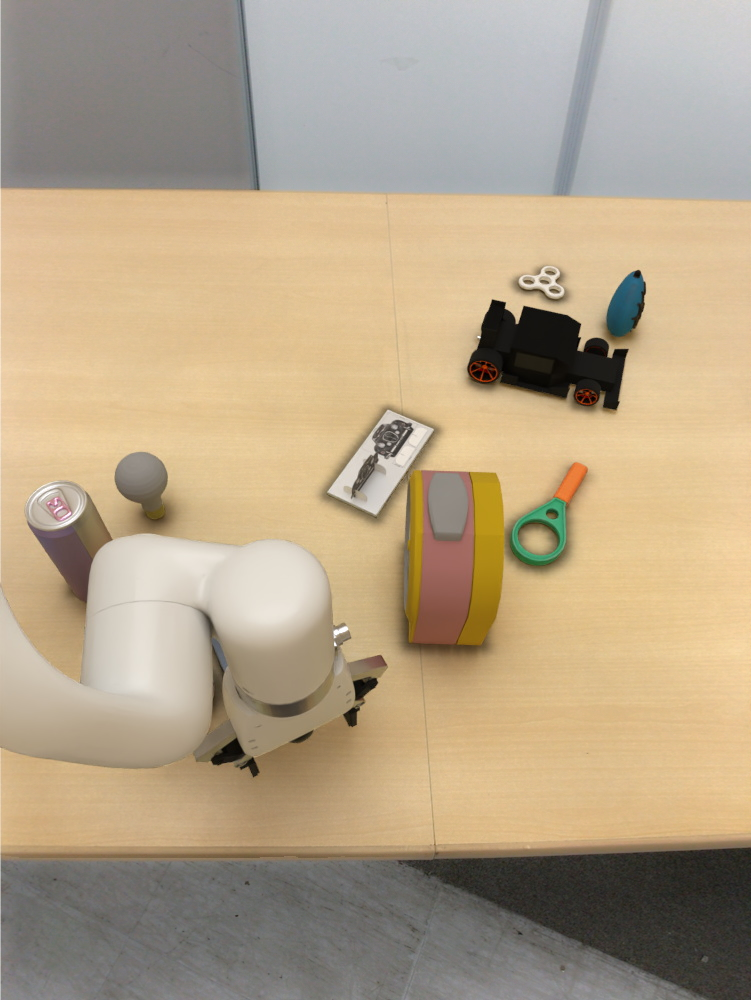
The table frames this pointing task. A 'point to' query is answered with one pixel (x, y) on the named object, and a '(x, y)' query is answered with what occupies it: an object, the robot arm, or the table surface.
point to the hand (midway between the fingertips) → (299, 736)
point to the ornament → (626, 305)
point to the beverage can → (67, 530)
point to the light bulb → (143, 481)
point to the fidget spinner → (544, 287)
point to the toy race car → (546, 356)
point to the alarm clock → (453, 556)
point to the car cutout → (380, 463)
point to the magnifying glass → (539, 515)
